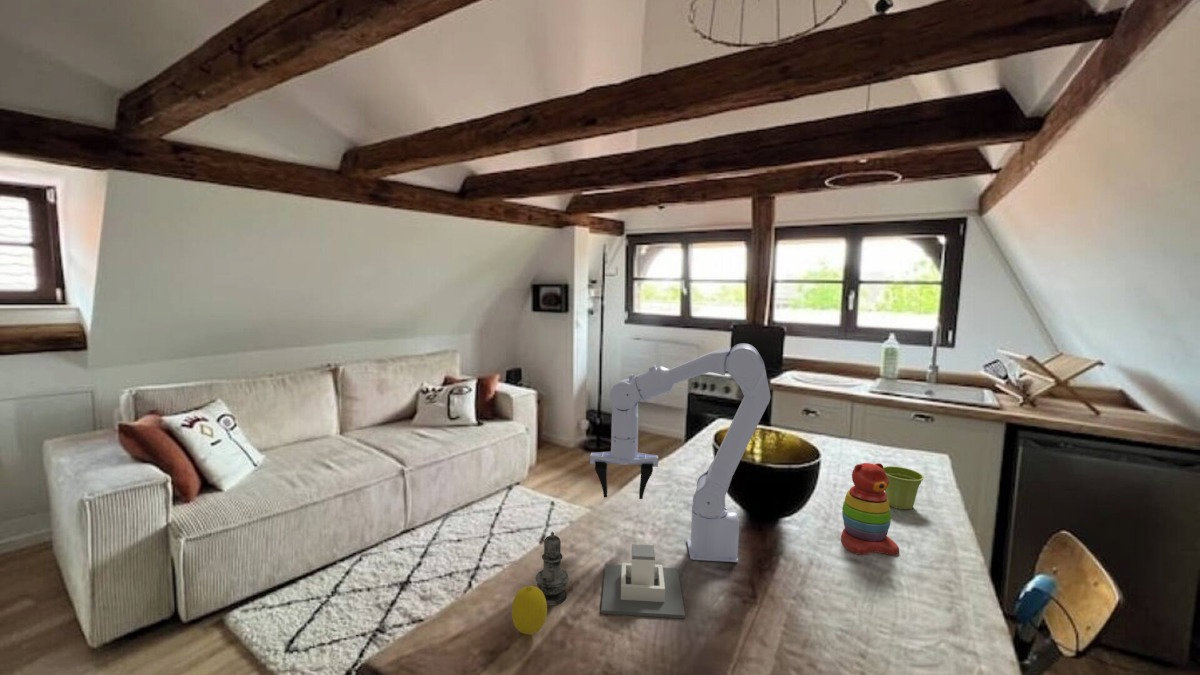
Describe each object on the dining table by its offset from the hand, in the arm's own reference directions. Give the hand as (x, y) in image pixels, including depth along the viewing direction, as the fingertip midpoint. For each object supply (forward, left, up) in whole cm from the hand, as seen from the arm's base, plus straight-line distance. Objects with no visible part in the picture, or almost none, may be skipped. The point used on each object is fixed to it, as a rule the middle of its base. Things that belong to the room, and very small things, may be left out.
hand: (623, 496), depth 110 cm
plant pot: (-71, -24, -10) cm, 76 cm away
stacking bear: (-53, -3, -10) cm, 54 cm away
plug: (-4, +19, -9) cm, 21 cm away
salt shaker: (+12, +22, -10) cm, 27 cm away
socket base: (-4, +19, -9) cm, 22 cm away
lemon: (+14, +32, -10) cm, 36 cm away
